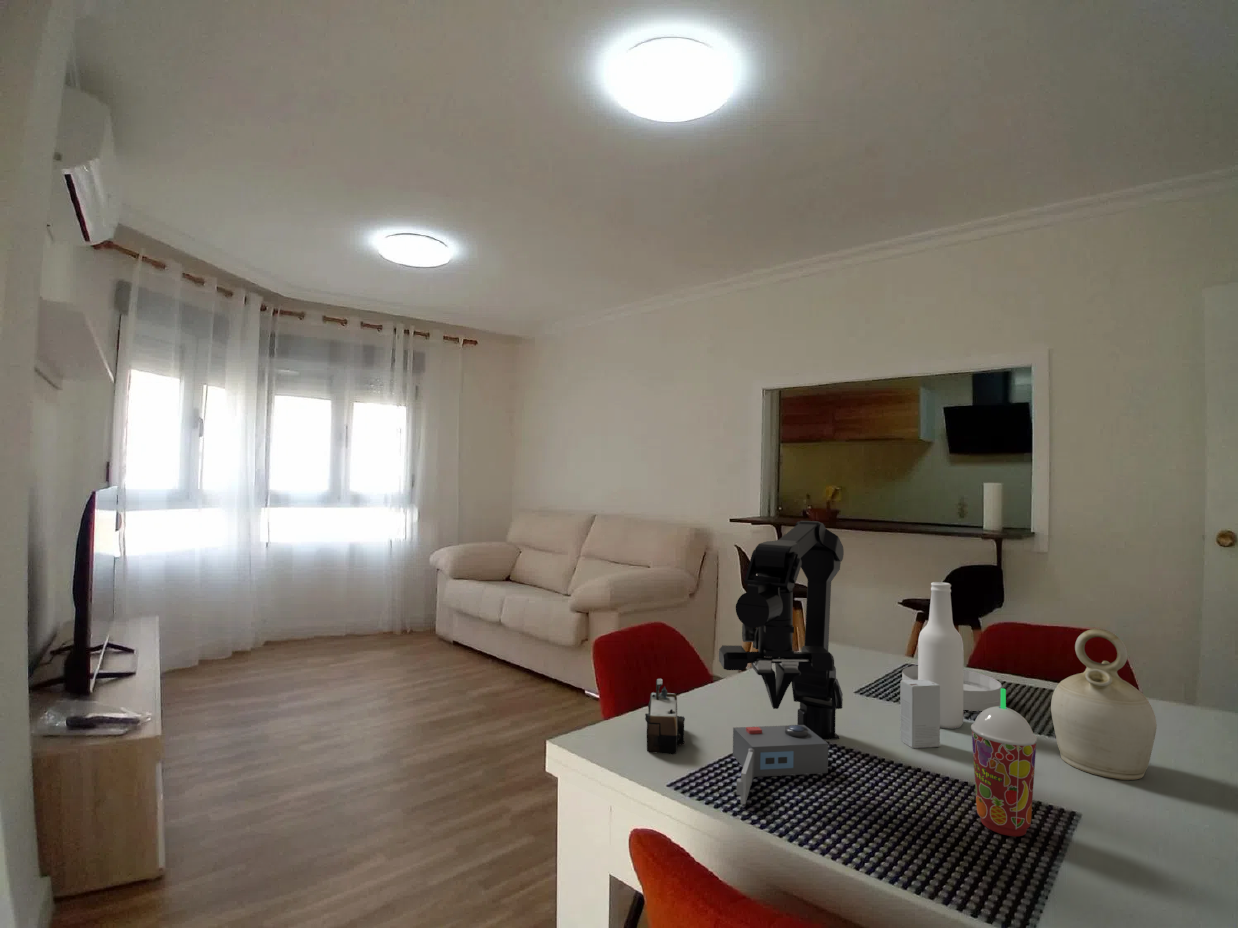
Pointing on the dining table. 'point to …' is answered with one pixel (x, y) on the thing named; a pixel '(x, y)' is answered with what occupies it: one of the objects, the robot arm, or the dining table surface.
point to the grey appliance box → (781, 750)
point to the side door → (746, 777)
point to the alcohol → (943, 656)
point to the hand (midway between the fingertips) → (775, 707)
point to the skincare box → (920, 713)
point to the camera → (664, 722)
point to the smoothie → (1004, 769)
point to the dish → (970, 689)
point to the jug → (1103, 717)
